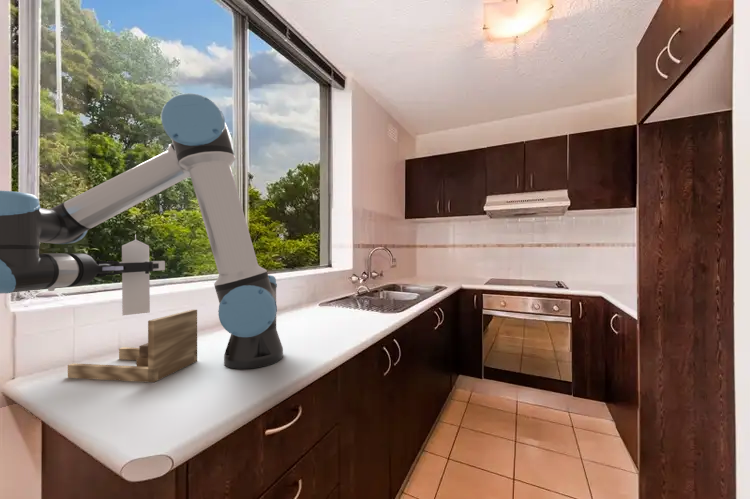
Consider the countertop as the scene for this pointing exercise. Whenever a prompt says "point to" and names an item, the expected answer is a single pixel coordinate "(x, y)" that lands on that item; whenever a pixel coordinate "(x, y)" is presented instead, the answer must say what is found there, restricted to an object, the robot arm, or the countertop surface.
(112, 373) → the rack
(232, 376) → the countertop surface
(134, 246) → the milk
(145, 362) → the offcut
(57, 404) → the countertop surface
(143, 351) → the offcut
